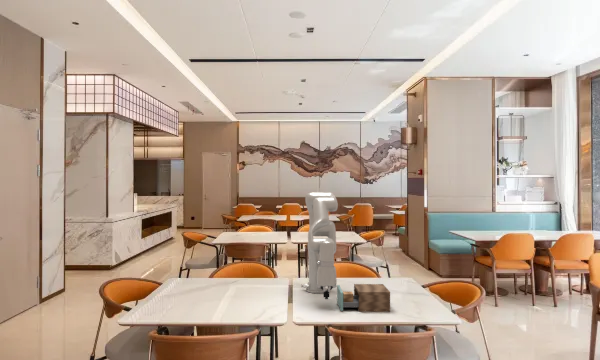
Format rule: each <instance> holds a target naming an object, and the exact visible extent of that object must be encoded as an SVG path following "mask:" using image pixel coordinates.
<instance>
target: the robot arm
mask: <svg viewBox="0 0 600 360" xmlns="http://www.w3.org/2000/svg"><path fill="white" fill-rule="evenodd" d="M304 199H305V205H306V209H307V212H308V216H309V217H308V218H309V219H308V220H309V228H308V229H309V230H308V233H307V251H308V252H307V253H308V282H307V283H301V285H300V286H301V288H303V289H304V288H305V291H306V292H308V293H311V294H323V298H324V299H325V300H329V298H330V292H331V290H333V289H337V285H338V284H337V282H338V281H337V280H338V279H337V268H336V266H335V254H336V252H337V233H336V232H337V231H336V224H335V222H333V220H330V215H329V212H337V210H338V208H339V207H338V206H339V204H338V199H337V197H336V196H335V194H334V193H333V192H331V191H313V192H311V191H310V192H308V193H306V194H305V197H304ZM314 237H316V238H314ZM318 237H319V238H318ZM324 237H326V238H324Z"/></svg>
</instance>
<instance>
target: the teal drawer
mask: <svg viewBox="0 0 600 360" xmlns="http://www.w3.org/2000/svg"><path fill="white" fill-rule="evenodd" d="M336 285H337V287H336V303H337V305H338V308H339V310H340V312H342V311H344V308H357V307H359V295H354V294H353V302H343V292H344V291H343V290H342V288H341V286H340V284H336Z"/></svg>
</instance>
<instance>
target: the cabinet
mask: <svg viewBox="0 0 600 360" xmlns="http://www.w3.org/2000/svg"><path fill="white" fill-rule="evenodd" d="M353 295H359V307H356V308H357V311H358V312H359V313H360V312H362V313H363V312H365V313H366V312H368V313H370V312H371V313H372V312H375V313H376V312H377V313H379V312H381V313H382V312H384V313H385V312H389V313H390V312H391V291H390V290H389V289H388V288H387V287H386V285H384V284H383V283H354V284H353Z"/></svg>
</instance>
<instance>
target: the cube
mask: <svg viewBox="0 0 600 360" xmlns="http://www.w3.org/2000/svg"><path fill="white" fill-rule="evenodd" d="M342 292H343V302H353V295H354V291H342Z"/></svg>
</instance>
